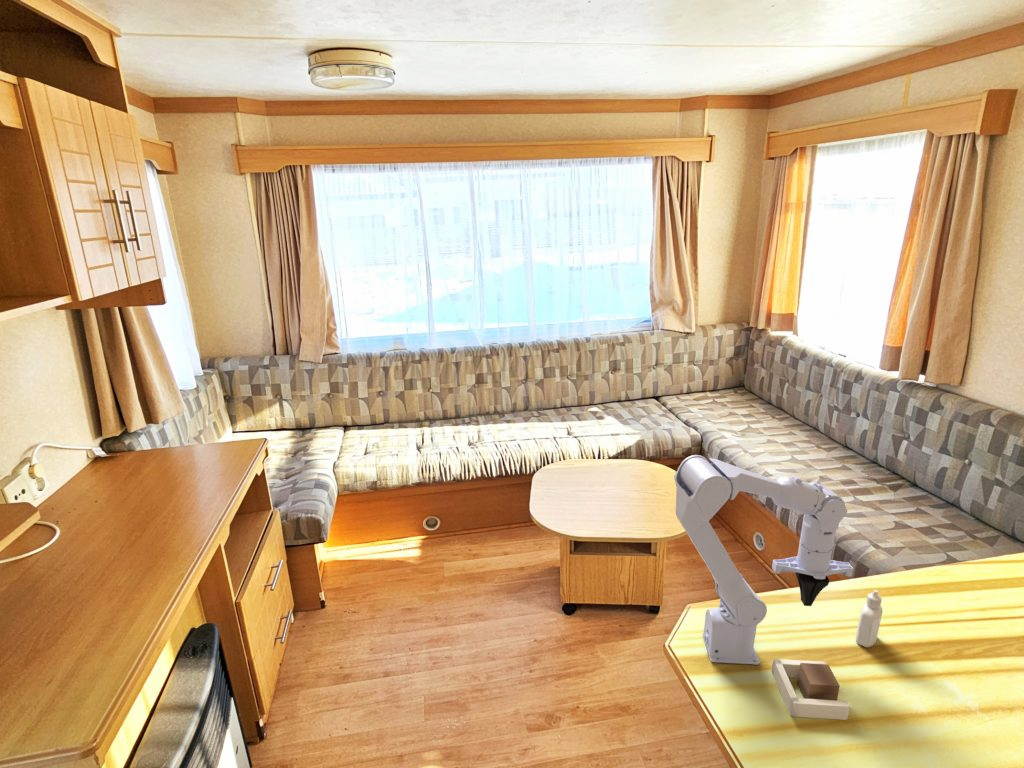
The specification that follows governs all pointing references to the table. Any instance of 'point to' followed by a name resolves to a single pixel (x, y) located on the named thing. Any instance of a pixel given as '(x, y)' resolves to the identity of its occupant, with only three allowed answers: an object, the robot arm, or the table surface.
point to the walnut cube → (817, 682)
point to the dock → (801, 705)
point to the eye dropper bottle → (869, 620)
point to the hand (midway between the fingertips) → (806, 602)
